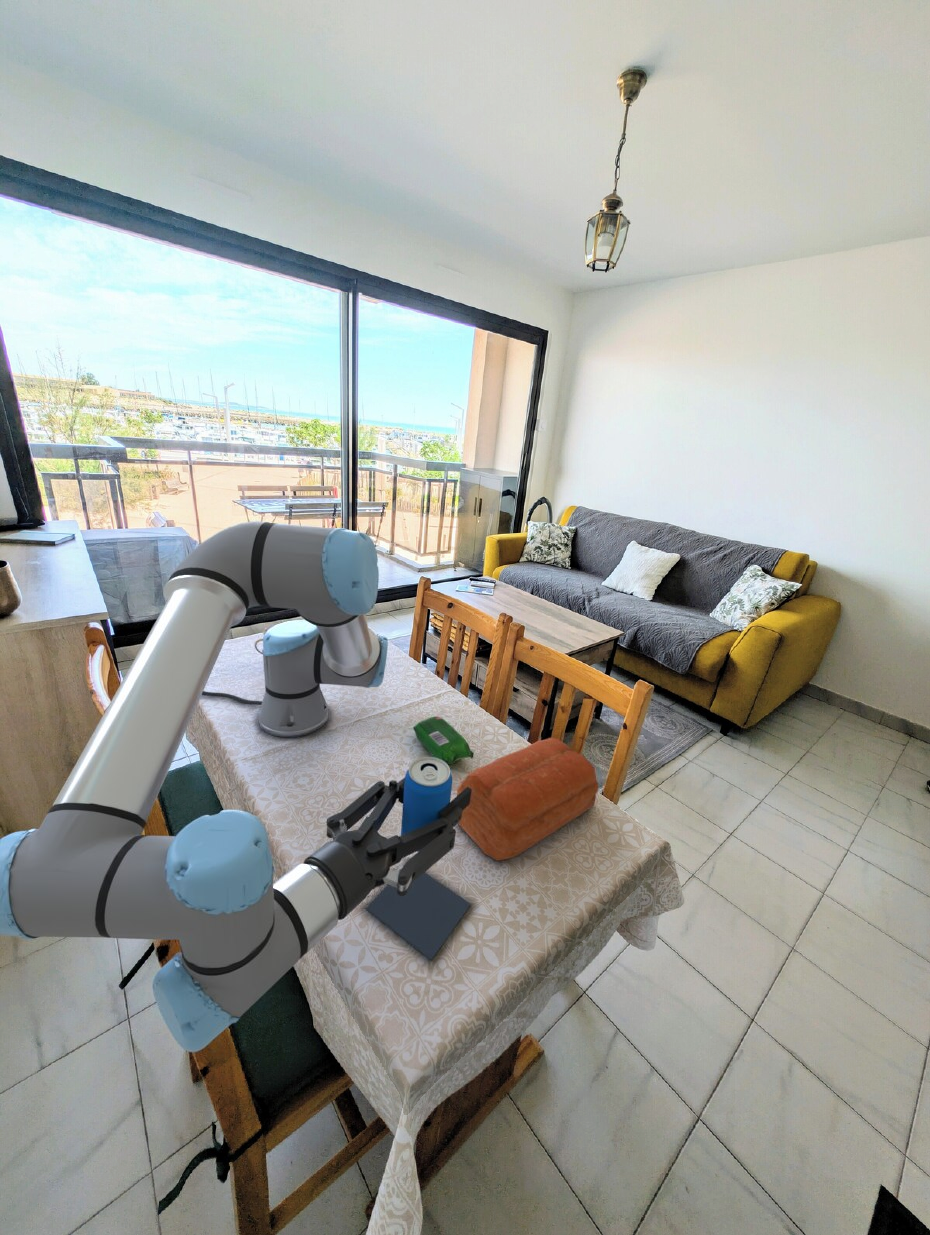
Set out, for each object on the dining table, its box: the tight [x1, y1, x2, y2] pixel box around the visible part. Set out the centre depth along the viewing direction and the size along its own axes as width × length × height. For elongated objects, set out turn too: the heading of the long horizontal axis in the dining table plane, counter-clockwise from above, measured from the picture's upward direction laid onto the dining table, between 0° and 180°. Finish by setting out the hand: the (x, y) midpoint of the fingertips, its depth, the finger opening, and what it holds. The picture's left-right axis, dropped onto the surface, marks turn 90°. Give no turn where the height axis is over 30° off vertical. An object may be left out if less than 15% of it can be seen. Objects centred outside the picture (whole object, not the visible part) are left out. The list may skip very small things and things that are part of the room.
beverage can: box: [400, 756, 454, 853], centre depth 65 cm, size 6×6×12 cm
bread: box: [456, 737, 599, 862], centre depth 88 cm, size 16×27×11 cm, turn 128°
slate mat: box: [365, 872, 472, 962], centre depth 70 cm, size 12×10×1 cm
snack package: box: [412, 716, 475, 765], centre depth 103 cm, size 7×16×5 cm, turn 35°
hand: (448, 783), depth 69 cm, fingers closed on beverage can, 6 cm apart
